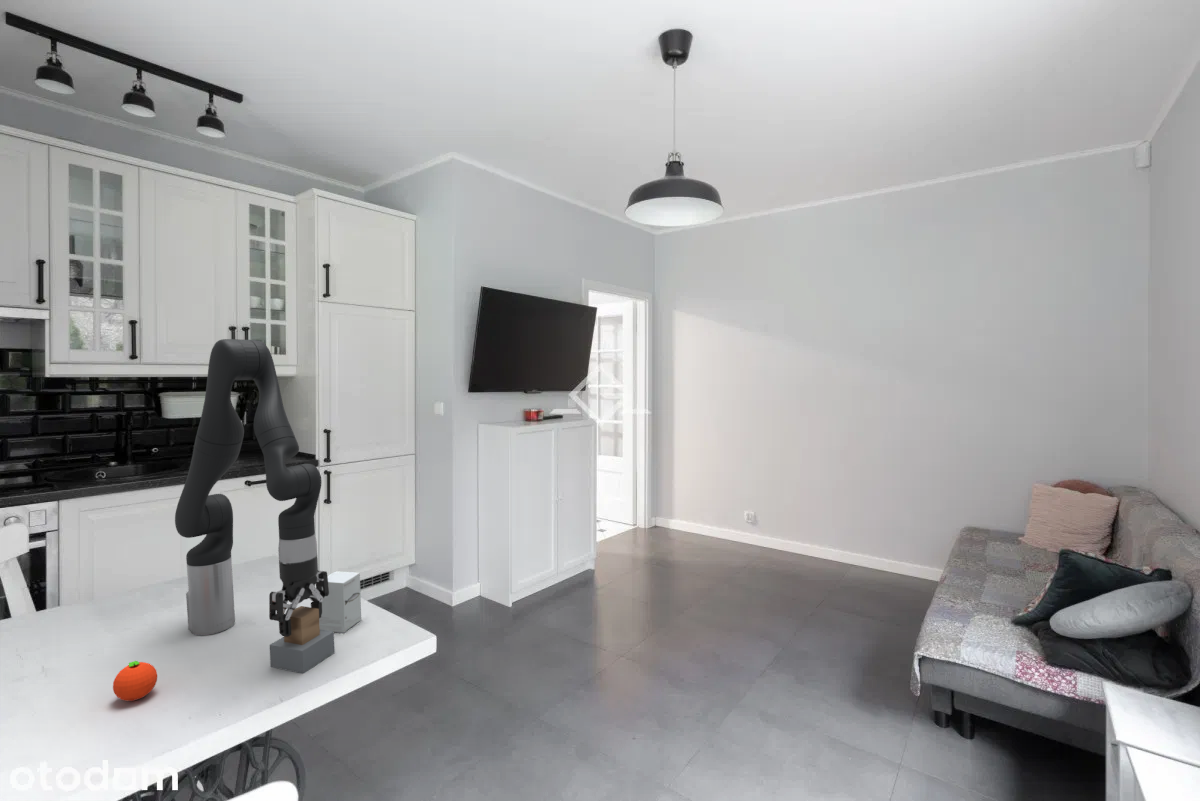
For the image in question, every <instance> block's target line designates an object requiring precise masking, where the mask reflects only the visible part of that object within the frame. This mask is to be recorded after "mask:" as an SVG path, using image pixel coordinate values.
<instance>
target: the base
mask: <svg viewBox="0 0 1200 801" xmlns="http://www.w3.org/2000/svg"><path fill="white" fill-rule="evenodd" d="M334 652H335V632H333V631H327V630H321V629H320V635H318V636H317V637H315V638H313V639H312V640H310V641H308V642H307V643H305V644H303V645H299V644H293V643H288V642H284V636H282V637H281V638H279V639H277V640H275V641H274V642H272V643H270V644H269V660H270V661H269V664H270V667H271V668H275V669H279V670H285V671H290V672H295V673H299V674H305V673H307V672H308V671H309V670H311V669H313V668H314V667H316V666H317V665H318V663H319V664H320V663H322V662H323V661H325V660H326V659H328V658H329V657H330V656H332V655H333V654H335V653H336V652H335V653H334ZM325 658H326V659H325ZM324 659H325V660H324ZM321 661H322V662H321Z"/></svg>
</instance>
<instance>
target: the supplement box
mask: <svg viewBox="0 0 1200 801" xmlns="http://www.w3.org/2000/svg"><path fill="white" fill-rule="evenodd" d="M360 573H361V572H355V571H354V572H353V571H352V572H351V571H339V570H338V571H337V570H336V571H333V572H332V573H330V574H327V576H328V587H329V595H328V596H325V597H324V598H323V601H322V615H321V618H319V626H320V629H321V630H327V631H333V632H334V633H340V634H344V633H346V632H347V631H348V630H349V629H350V628H352V627H353V626H355V625H356V624H357V623H359V622H360V621H362V599H361V598H362V596H361V574H360ZM322 590H323V587H322Z"/></svg>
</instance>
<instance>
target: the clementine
mask: <svg viewBox="0 0 1200 801" xmlns="http://www.w3.org/2000/svg"><path fill="white" fill-rule="evenodd" d="M157 681H158V672H157V669H156V668H155V666H154V665H152V664H151V663H149V662H144V661H138V660H134V661H131V662H129V663H128V665H126V666H124V667H123V668H122V669H121V670H120V671H119V672H118V673H117V674H116V675H115V678H114V680H113V683H112V690H113V694H114V695H115V696H116V697H117V698H118V699H120V700H122V701H127V702H130V701H131V702H132V701H137V700H140V699H142V698H144V697H145V696H148V695H149V693H151V692H152V691H153V689H154V687H155V686H156V685H157Z"/></svg>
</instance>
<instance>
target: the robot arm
mask: <svg viewBox="0 0 1200 801" xmlns="http://www.w3.org/2000/svg"><path fill="white" fill-rule="evenodd" d="M251 380H252V381H254V383H255V385H256V387H257V389H258V395H259V397H258V398H259V399H258V403H257V406H256V410H255V414H254V418H253V430H254V431H253V432H254V434H255V437H256V440H257V443H258V444H259V448H260V449H261V452H262V454H263V460H264V469H265V483H266V484H265V485H266V490H267V492H268V494H269V495H270V496H271V497H272V498H273V499H275V501H279V502H285V501H291V500H294V499H295V501H294V503H293V504H292V505H290V506H289V507H288V508H286V509H284V510H282V511H281V512H279V515H278V518H277V520H278V521H277V522H278V538H279V539H278V550H277V551H278V567H279V569H278V570H279V579H280V581H281V582H282V587H281V589H280V590H278V591H271V592H270V593H269V596H268V598H269V600H268V601H269V615H268V616H269V620H270V621H277V622H278V629H279V630H278V631H279V635H280V636H282V637H284V636H285V637H288V636H290V635H291V619H290V616H291V614H292V612H293V610H295V609H296V608H298V605H299V604H300V603H302V602H303V601H304V600H308V599H309V600H310V601H311V602H310V607H311V608H317V609H319V618H321V615H322V601H323V598H324V597H325V596H328V595H329V587H328V572H327V571H326V570H325V571H323V570H319V566H318V565H319V564H318V559H319V558H318V544H317V538H316V525H315V514H316V509H317V506H318V502H319V497H320V494H321V489H322V481H323V480H322V475H321V473H320V471H319V469H318V468H317V467H316V466H315V464H311V463H303V464H298V465H297V464H296V465H291V466H286V464H285V461H287V460H290V459H292V458H293V457H296V455H298V453H299V451H300V445H299V443H298V441H297V438H296V435H295V433H294V431H293V428H292V426H291V424H290V421H289V419H288V417H287V413H286V411H285V407H284V403H283V397H282V394H281V388H280V385H279V384H280V383H279V380H278V376H277V371H276V368H275V363H274V359H273V356H272V353H271V351H270V349H269V348H268V346H267V345H266V343H264V342H263V341H261V340H257V339H256V340H255V339H235V338H223V339H219V340H217V341H216V342H215V343H214V345H213V346H212V348H211V351H210V354H209V362H208V369H207V378H206V388H205V395H204V403H203V406H202V407H203V408H202V411H201V416H200V421H199V424H198V428H197V431H196V435H195V440H194V445H193V451H192V455H191V461H190V464H189V465H190V466H189V470H188V473H187V477H186V480H185V483H184V485H183V488H182V491H181V494H180V497H179V500H178V502H177V506H176V509H175V514H174V525H175V529H176V531H177V533H178V534H179V535H180V537H183V538H186V539H187V538H188V539H191V538H195V537H197V538H198V537H201V536H205V537H203V539H202V540H201V541H200V542H198V544H196V545H195V546H193V547H192V548H190V549H189V550H188V551H187V553H186V558H185V559H186V560H185V561H186V575H187V586H188V588H187V590H188V591H186V593H185V598H186V614H187V627H188V629H187V630H189V631H190V632H191V634H192V635H195V636H209V635H213V634H218V633H220V632H223V631H225V630H228V629H230V628H231V627H233V626H234V625H235V624H236V615H235V611H236V610H235V598H234V597H235V596H234V595H235V592H234V579H233V578H234V577H233V575H234V574H233V564H232V563H233V562H232V559H233V558H232V551H233V550H232V549H233V545H234V512H233V511H234V510H233V506H232V503H231V501H230V499H229V498H228V497H227V496H226V495H225V494H223V493H214V494H210V492H211V491H212V489H213V488H214V487H215V485H216V483H218V481H219V480H220V479H221V478H223V476H224V475H225V474H226V473H227V472H228V471H229V470H230V469H231V468H232V467H233V465H234V463H235V462H236V461H237V459H238V457H239V455H240V453H241V450H242V449H241V448H242V445H243V441H244V438H245V437H244V434H245V427H244V424H243V423H242V420H241V418H240V416H239V415H238V413H237V410H236V409H235V407H234V405H233V402H232V398H231V395H232V388H233V384H234V383H235V381H251ZM322 587H323V590H322ZM288 602H290V604H289V603H288Z"/></svg>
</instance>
